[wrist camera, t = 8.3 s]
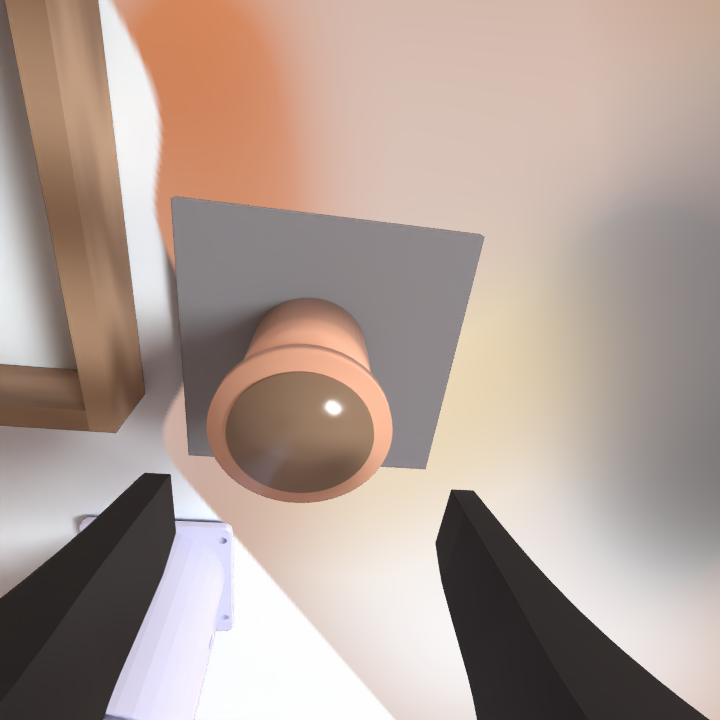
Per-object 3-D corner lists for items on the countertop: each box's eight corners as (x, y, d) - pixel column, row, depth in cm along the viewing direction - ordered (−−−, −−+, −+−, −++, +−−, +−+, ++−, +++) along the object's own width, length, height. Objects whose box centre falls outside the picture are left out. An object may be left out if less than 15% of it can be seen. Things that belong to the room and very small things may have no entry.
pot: (368, 409, 20) (382, 507, 15) (245, 404, 20) (212, 504, 14) (382, 292, 18) (404, 360, 12) (240, 283, 17) (196, 349, 12)
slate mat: (423, 461, 23) (425, 469, 22) (192, 447, 21) (188, 455, 21) (479, 234, 17) (484, 236, 17) (176, 196, 16) (170, 198, 15)
